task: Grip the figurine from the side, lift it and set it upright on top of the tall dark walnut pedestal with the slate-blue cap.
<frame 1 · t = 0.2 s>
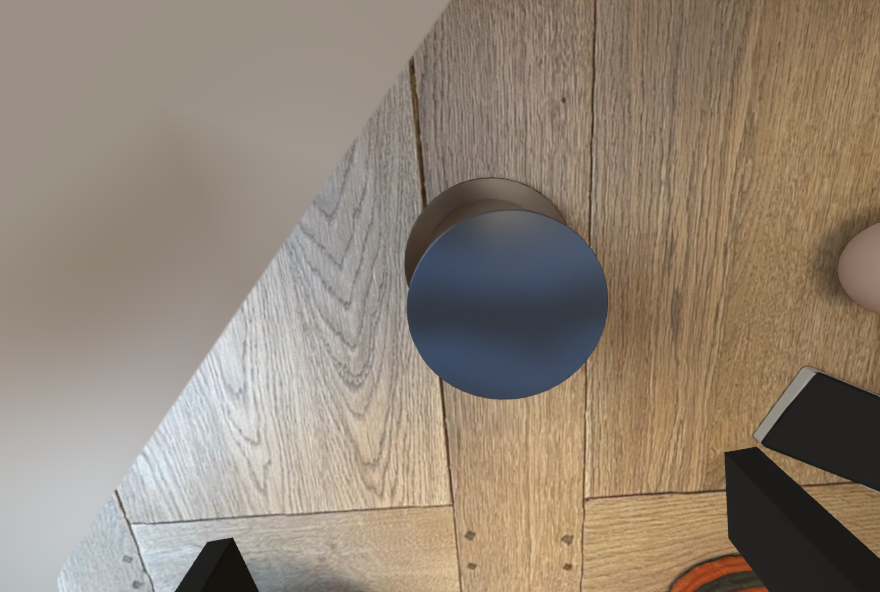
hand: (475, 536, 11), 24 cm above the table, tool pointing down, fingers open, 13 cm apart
egg: (856, 256, 32), on the table
pedestal: (487, 262, 33), on the table
smartphone: (848, 429, 37), on the table
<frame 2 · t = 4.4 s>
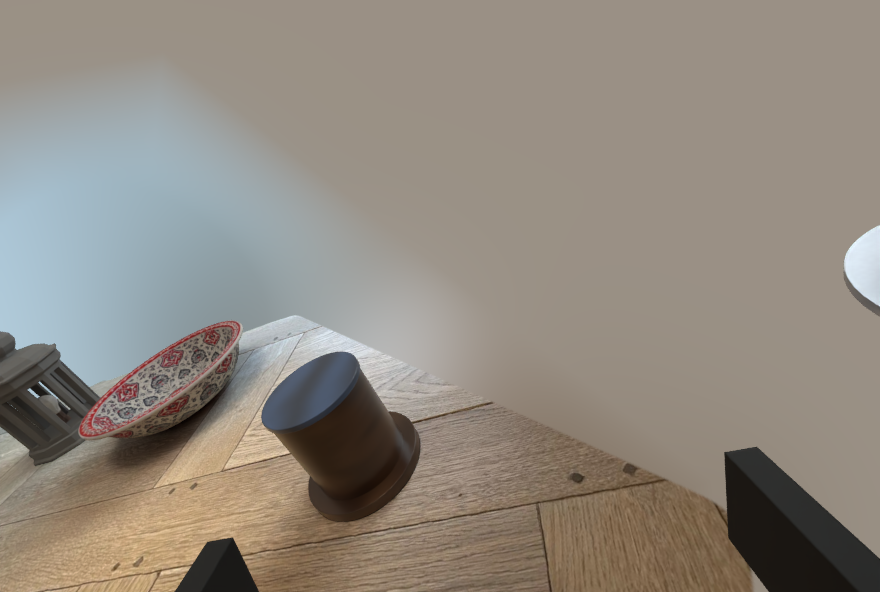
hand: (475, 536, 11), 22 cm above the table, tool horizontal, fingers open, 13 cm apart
ceramic bowl: (195, 402, 78), on the table
pedestal: (366, 464, 46), on the table
lantern: (78, 432, 89), on the table
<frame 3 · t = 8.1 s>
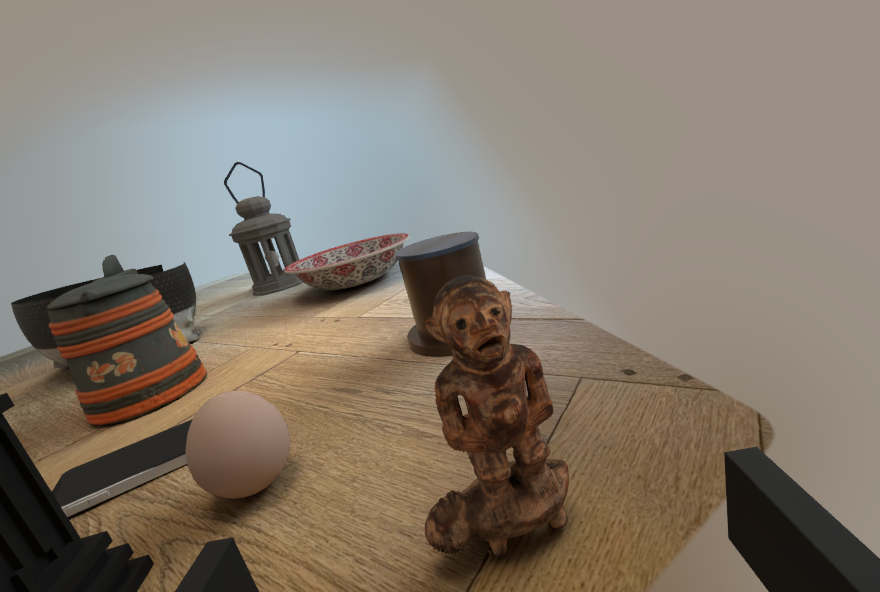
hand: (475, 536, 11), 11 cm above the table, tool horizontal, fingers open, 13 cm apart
egg: (259, 487, 33), on the table
ceramic bowl: (358, 284, 97), on the table
pedestal: (458, 332, 54), on the table
smartphone: (150, 464, 41), on the table
tankard: (154, 391, 61), on the table
lantern: (282, 285, 120), on the table
basket: (137, 352, 86), on the table
figurine: (507, 539, 23), on the table
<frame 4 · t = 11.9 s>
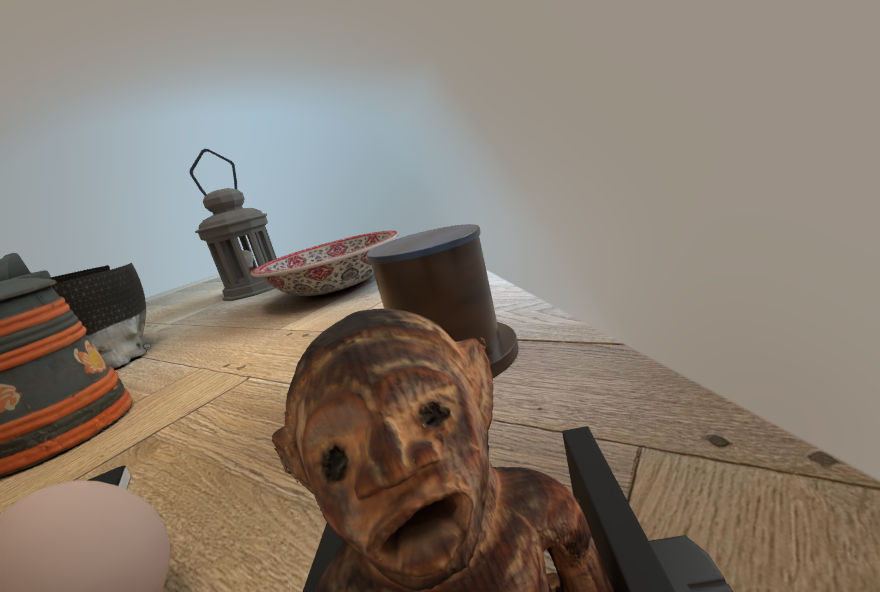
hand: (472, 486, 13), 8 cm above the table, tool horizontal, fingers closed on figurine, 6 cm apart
ceramic bowl: (339, 289, 84), on the table
pedestal: (452, 357, 41), on the table
tankard: (63, 428, 48), on the table
lantern: (257, 289, 107), on the table
basket: (74, 369, 73), on the table
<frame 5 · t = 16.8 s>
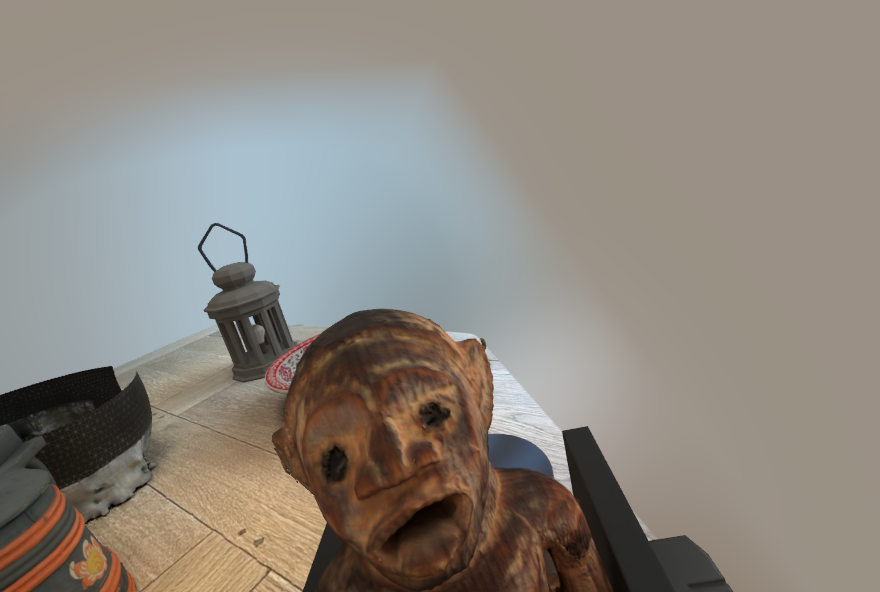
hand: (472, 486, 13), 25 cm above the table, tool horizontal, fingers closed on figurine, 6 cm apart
ceramic bowl: (358, 386, 78), on the table
lantern: (269, 364, 101), on the table
basket: (74, 489, 67), on the table
when the fingers open (20 cm above the table, at t = 21.9 s): figurine stays where it is, resting on pedestal.
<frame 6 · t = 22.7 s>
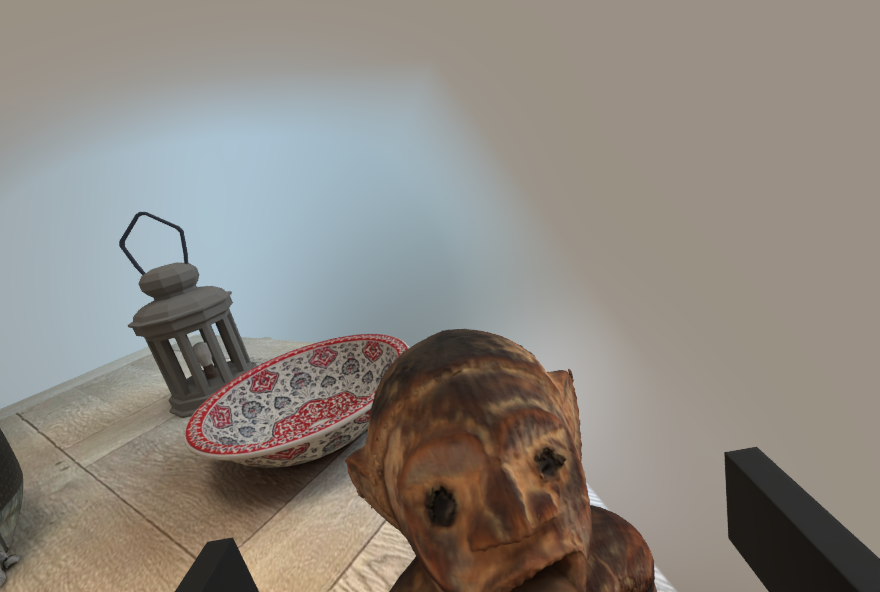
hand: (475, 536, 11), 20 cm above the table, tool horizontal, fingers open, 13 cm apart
ceramic bowl: (323, 432, 57), on the table
lantern: (219, 392, 80), on the table
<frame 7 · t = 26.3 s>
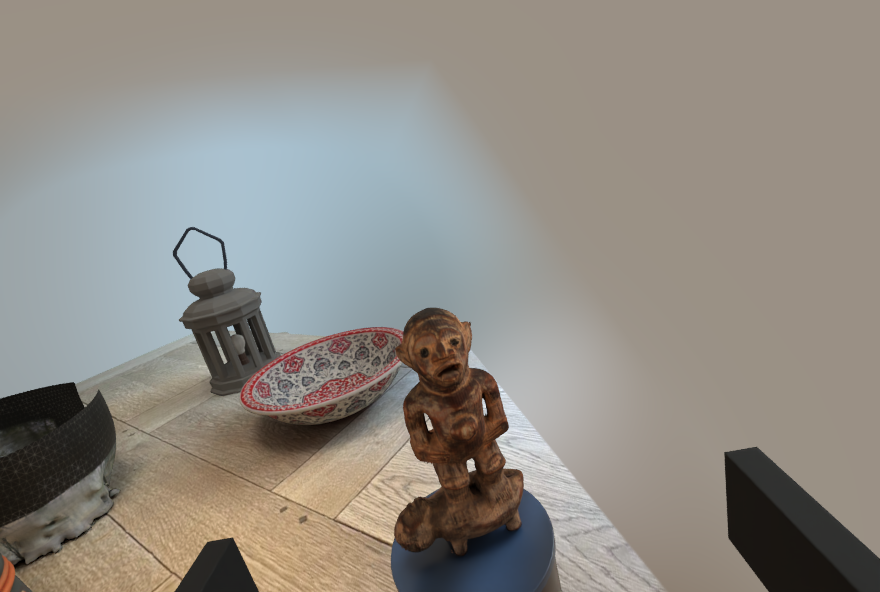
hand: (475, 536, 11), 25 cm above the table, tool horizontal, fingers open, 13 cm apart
ceramic bowl: (342, 403, 73), on the table
lantern: (250, 376, 96), on the table
basket: (28, 519, 61), on the table
figurine: (469, 539, 26), point 12 cm above the table, touching pedestal
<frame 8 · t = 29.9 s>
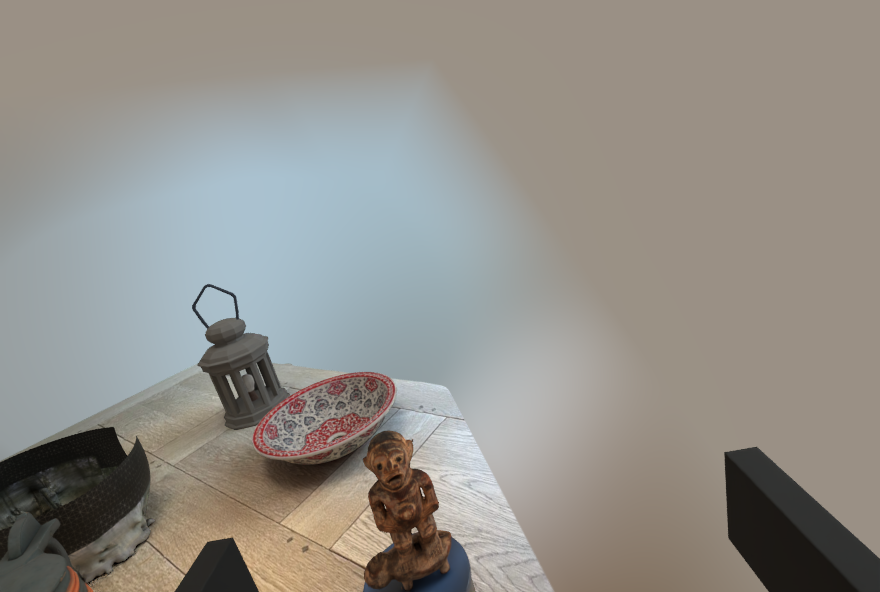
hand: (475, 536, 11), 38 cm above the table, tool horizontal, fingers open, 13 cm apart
ceramic bowl: (338, 441, 86), on the table
lantern: (259, 410, 109), on the table
basket: (80, 543, 75), on the table
figurine: (416, 579, 39), point 12 cm above the table, touching pedestal
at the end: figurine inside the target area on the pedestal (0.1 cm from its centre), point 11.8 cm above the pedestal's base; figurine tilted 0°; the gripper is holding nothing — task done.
